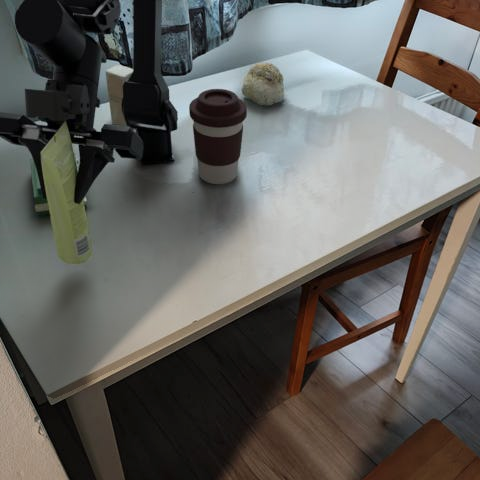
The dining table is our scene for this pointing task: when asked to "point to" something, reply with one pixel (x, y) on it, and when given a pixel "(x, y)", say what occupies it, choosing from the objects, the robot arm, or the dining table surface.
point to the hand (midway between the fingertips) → (61, 201)
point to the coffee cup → (218, 134)
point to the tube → (65, 199)
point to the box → (117, 91)
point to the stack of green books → (39, 200)
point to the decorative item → (264, 84)
